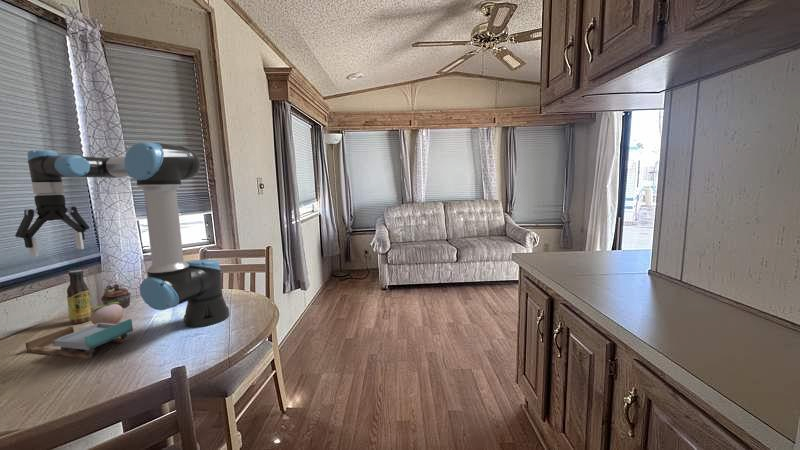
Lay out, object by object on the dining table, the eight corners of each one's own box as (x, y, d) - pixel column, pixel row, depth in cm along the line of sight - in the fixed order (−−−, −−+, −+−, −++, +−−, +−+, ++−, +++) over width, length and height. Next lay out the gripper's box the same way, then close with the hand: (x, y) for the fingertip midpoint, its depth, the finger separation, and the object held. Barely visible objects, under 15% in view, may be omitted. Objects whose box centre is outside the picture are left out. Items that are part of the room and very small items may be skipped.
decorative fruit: (106, 334, 115) (102, 306, 114) (87, 332, 116) (83, 305, 115) (132, 323, 124) (128, 297, 123) (114, 321, 126) (110, 296, 124)
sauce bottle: (78, 325, 123) (70, 273, 121) (65, 324, 125) (57, 273, 122) (97, 318, 130) (90, 269, 127) (85, 317, 131) (77, 268, 128)
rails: (126, 340, 110) (125, 331, 110) (86, 359, 98) (84, 349, 98) (71, 334, 115) (70, 326, 115) (26, 352, 104) (25, 343, 103)
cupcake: (136, 305, 143) (134, 283, 142) (109, 313, 134) (106, 289, 133) (125, 302, 147) (122, 280, 146) (98, 309, 139) (94, 287, 137)
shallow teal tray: (133, 336, 110) (131, 319, 109) (89, 356, 97) (86, 337, 96) (101, 333, 113) (98, 316, 112) (54, 352, 100) (51, 333, 99)
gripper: (82, 193, 131) (89, 245, 133) (-8, 196, 106) (4, 260, 109) (96, 193, 129) (103, 246, 132) (8, 195, 105) (20, 260, 107)
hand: (58, 252), depth 120 cm, fingers open, 13 cm apart
